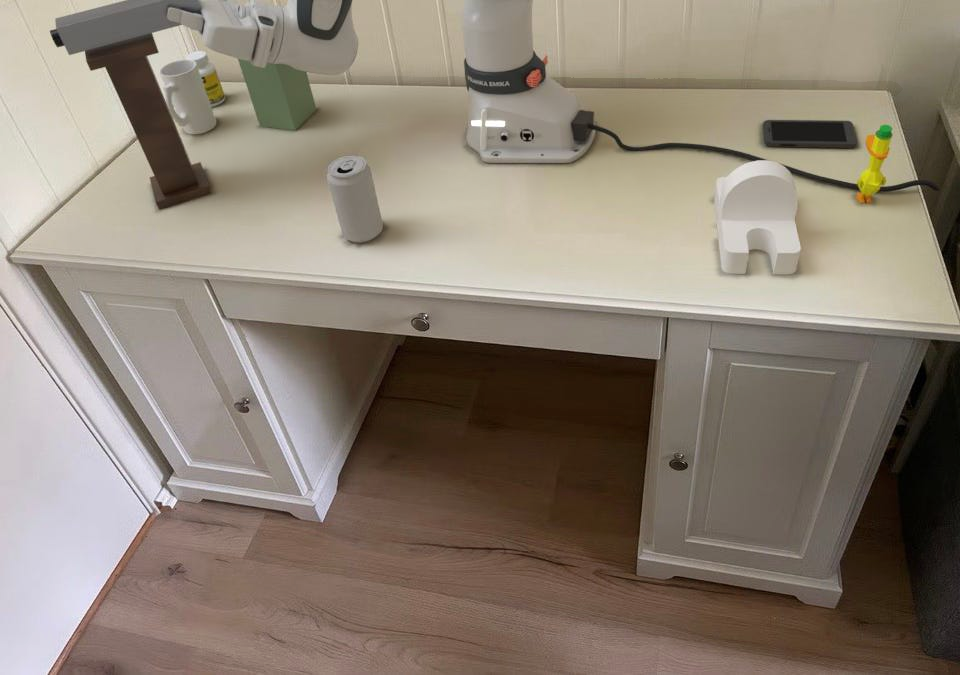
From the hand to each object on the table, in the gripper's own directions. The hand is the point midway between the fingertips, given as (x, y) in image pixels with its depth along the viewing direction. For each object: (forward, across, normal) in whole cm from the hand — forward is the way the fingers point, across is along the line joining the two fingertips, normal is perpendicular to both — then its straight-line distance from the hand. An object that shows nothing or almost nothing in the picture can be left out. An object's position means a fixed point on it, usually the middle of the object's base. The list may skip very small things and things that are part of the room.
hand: (164, 6), depth 118 cm
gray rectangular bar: (+3, 0, +5) cm, 6 cm away
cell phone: (-91, +44, -17) cm, 102 cm away
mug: (-12, -20, +27) cm, 36 cm away
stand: (-7, 0, +30) cm, 30 cm away
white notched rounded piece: (-71, +60, -6) cm, 93 cm away
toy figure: (-87, +61, -15) cm, 107 cm away
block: (-27, -14, +18) cm, 36 cm away
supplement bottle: (-17, -31, +24) cm, 43 cm away
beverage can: (-28, +29, +18) cm, 45 cm away
